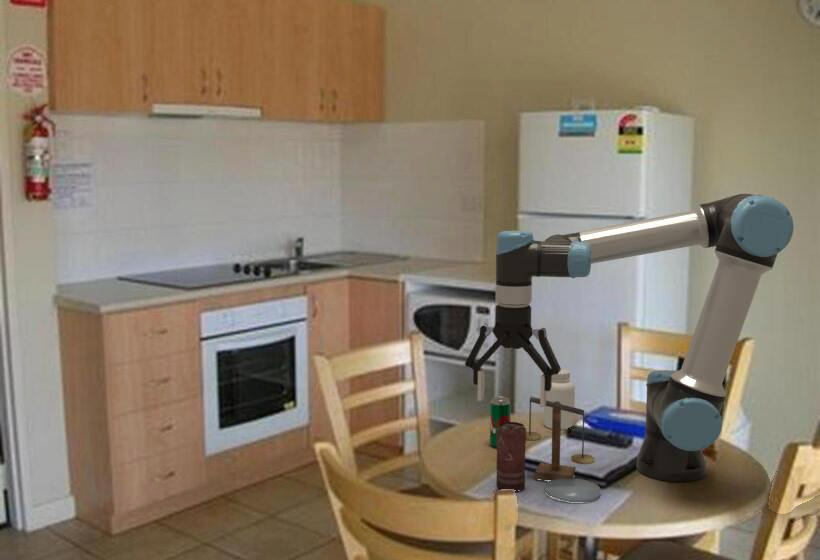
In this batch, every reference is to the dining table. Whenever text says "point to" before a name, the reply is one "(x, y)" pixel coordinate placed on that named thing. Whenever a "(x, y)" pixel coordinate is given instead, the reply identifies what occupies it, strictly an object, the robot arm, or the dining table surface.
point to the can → (511, 455)
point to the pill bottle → (560, 399)
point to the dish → (573, 490)
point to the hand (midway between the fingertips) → (511, 402)
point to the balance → (557, 444)
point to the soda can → (498, 416)
